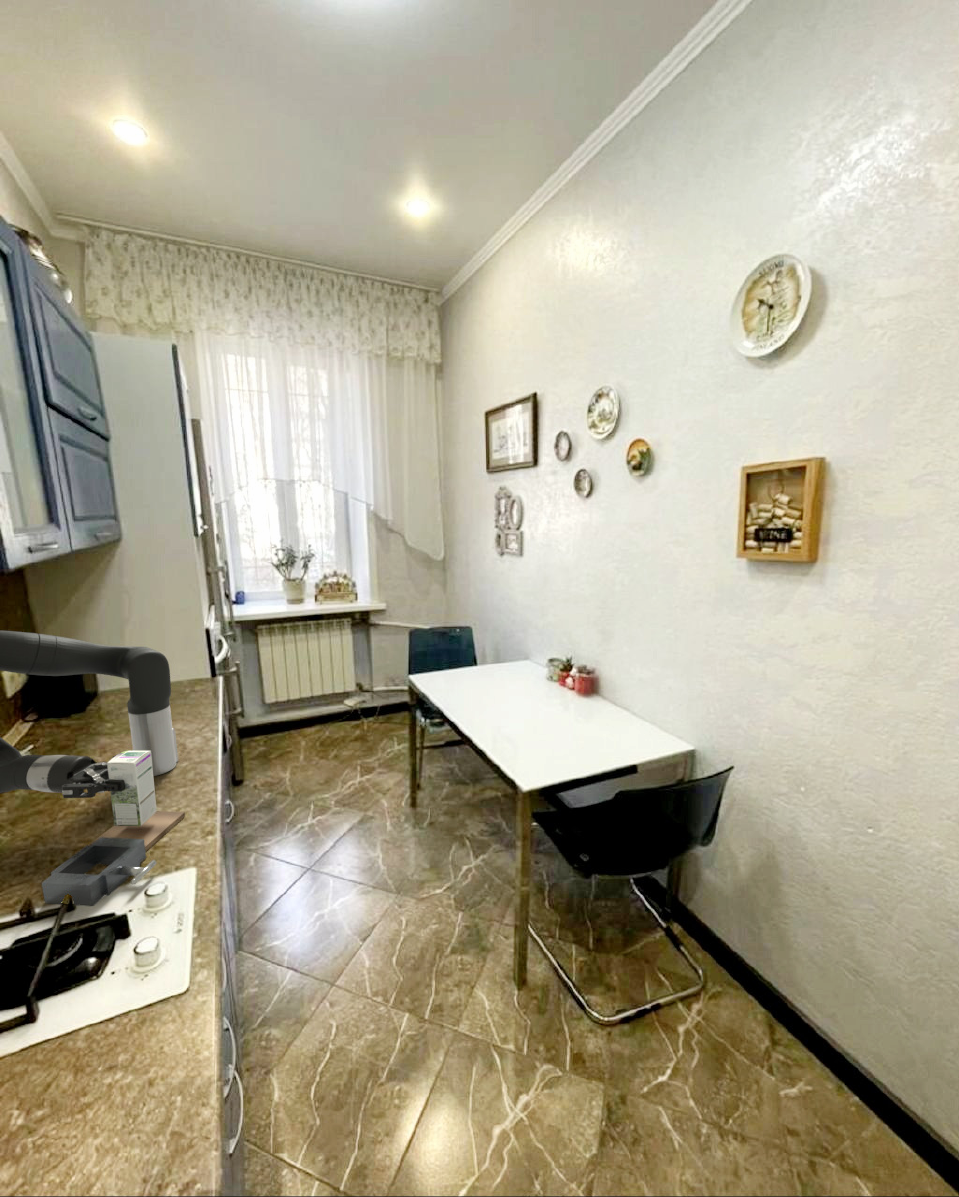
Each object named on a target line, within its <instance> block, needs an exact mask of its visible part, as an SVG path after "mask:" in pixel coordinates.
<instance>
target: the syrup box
mask: <svg viewBox="0 0 959 1197" xmlns="http://www.w3.org/2000/svg"><path fill="white" fill-rule="evenodd" d="M115 755H116V756H115ZM115 755H114V756H115V757H114V758H113V757H111V759H110V760H108V761H106V762H107V766H108V775H109V779H113V780H124V782H125V790H123V791H122V792H113V791H109V792H110V799H111V807H112V816H113V826H114V825H115V826H141V825H143V824H144V823H145V822H146V821H147V820H148V819H149V818H150V817H151V816H152V815H153V814H155V813H156V812H157V811H158V809H157V801H156V791H155V789H156V788H155V780H154V776H153V767H152V757H151V751H133V750H123V751H122V752H120V753H118V754H115Z"/></svg>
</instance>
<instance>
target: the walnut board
mask: <svg viewBox="0 0 959 1197" xmlns="http://www.w3.org/2000/svg"><path fill="white" fill-rule="evenodd" d="M185 816H186V814H185V811H169V810H166V811H163V810H157V812H156V813H155V814H153V815H152V816H151V817H150V818H149V819H148V820H147V821H146V822H145V823H144V824H143V825H141V826H115V825H114V824H113V826H112V827H110V828H109V829H107V830H106V831H105V832H103V833H102V834H101V835H100V836H98V837H97V838H95V839H94V840H93V841H92V842H90V843H89V845H92V844H93V843H94V842H96V841H97V840H98V839H99V838H101V837H107V838H128V839H144V844H145V852H147V851H148V850H149V849H150V848H151V847H152V846H154V845H155V843H157V842H159V840H160V839H161V838H162V837H164V836H165V835H166V834H167V833H168V832H169V831H170V830H171V829H172V828H174V826H176V825H177V824H178V823H179V822H180V821H182V820H183V819H184V818H185Z"/></svg>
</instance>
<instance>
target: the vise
mask: <svg viewBox="0 0 959 1197" xmlns="http://www.w3.org/2000/svg"><path fill="white" fill-rule="evenodd" d="M146 858H147V851H145V844H144V839H128V838H107V837H101V838H99V839H98V840H97V841H96V842H94V843H93V844H92V845H90V844H89V845H88V844H87V845H85V846H84V847H83V848H81V849H80V850H79V851H77V852H76V853H75V854H73V855H71V857H69V858H68V859H67V860H66V861H64V862H62V863H61V864H60V865H59V866H57V867H56V868H55V869H53V870H52V871H51V872H50V874H51V875H49V876H48V877H47V878H45V880H43V881H42V882H41V887H42V894H43V901H44V904H50V905H51V904H54V905H62V904H61V902H62V901H63V899H64V897H65V895H67V894H69V895H71V896H72V898H73V901H74V904H75V905H74V906H87V907H94V906H96V905H95V904H97V903H98V902H100V901H101V899H102V898H104V897H105V896H110V895H111V894H113V892H114V891H116V890H117V889H118V888H119V887H120V886H121V885H122V884H123V883H124V882H126V881H127V879H128V878H129V877H131V876H134V877H133V878H132V879H131V880H130V884H131V885H133V886H134V885H136V884H137V883H138V882H139V881H140V880H141V879H142V878H143V877H144V876H146V875H147V874H148V873H149V871H151V870H152V869H153V868H154V867H155V866H156V865H157V861H156V860H155V859H153V860H151V861H150V862H149V863H148V864H146V866H145V867H141V863H142V862H143V861H144V860H145V859H146ZM97 865H103V866H104V865H108V866H107V867H106V868H104V869H103V870H102V871H101V872H100V873H99V874H87V873H88V872H89V871H90V870H91V869H92V868H94V867H96V866H97Z"/></svg>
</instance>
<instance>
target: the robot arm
mask: <svg viewBox="0 0 959 1197" xmlns="http://www.w3.org/2000/svg"><path fill="white" fill-rule="evenodd" d="M0 671H2V672H7V673H14V674H15V673H17V674H22V675H23V674H24V675H33V676H48V677H49V676H51V677H60V676H61V677H62V676H73V675H75V676H76V675H83V674H84V675H86V674H94V675H95V674H97V675H105V676H112V677H116V678H120V679H121V678H122V679H125V680H128V685H129V688H128V689H129V699H128V700H127V703H126V704H127V705H126V706H127V713H128V721H129V728H130V737H131V746H132V751H151V757H152V767H153V777H156V776H160V775H163V774H165V773H168V772H169V771H172V770H173V769H174V768H176V766H177V763H178V762H179V754H178V752H179V751H178V743H177V736H176V734H177V733H176V729H175V728H173V721H172V712H171V704H170V698H171V695H172V683H171V670H170V664H169V661H168V659H167V657H166V656H165V655H164V654H163V653H161V652H160V651H158V650H156V649H153V648H151V647H147V646H128V645H126V646H125V645H108V644H107V645H106V644H99V643H93V642H89V641H86V640H85V641H84V640H80V639H75V638H70V637H64V636H57V635H53V634H44V633H43V634H42V633H36V632H24V631H23V632H22V631H15V630H14V631H13V630H0ZM116 755H117V754H115V755H113V756H112V758H114V757H115V756H116ZM107 762H108V761H102V762H101V761H100V762H97V761H95V760H94V759H93V758H92V757H90V756H86V755H71V754H70V755H68V754H51V755H46V754H45V755H43V754H42V755H41V754H26V755H22V754H21V752H20V750H18V749H17V748H16V747H15V746H13V745H11V744H10V743H9V742H8V741H6V740H5V739H4V738H2V736H0V794H2V793H7V792H12V791H16V790H26V791H27V790H29V791H39V792H43V793H59V794H60V793H61V794H62V797H63V799H86V798H87V799H89V798H94V797H96V794H103V793H106V792H110V791H113V792H122V791H123V790H125V782H124V780H113V779H109V775H108V766H107ZM85 790H86V792H85Z"/></svg>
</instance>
